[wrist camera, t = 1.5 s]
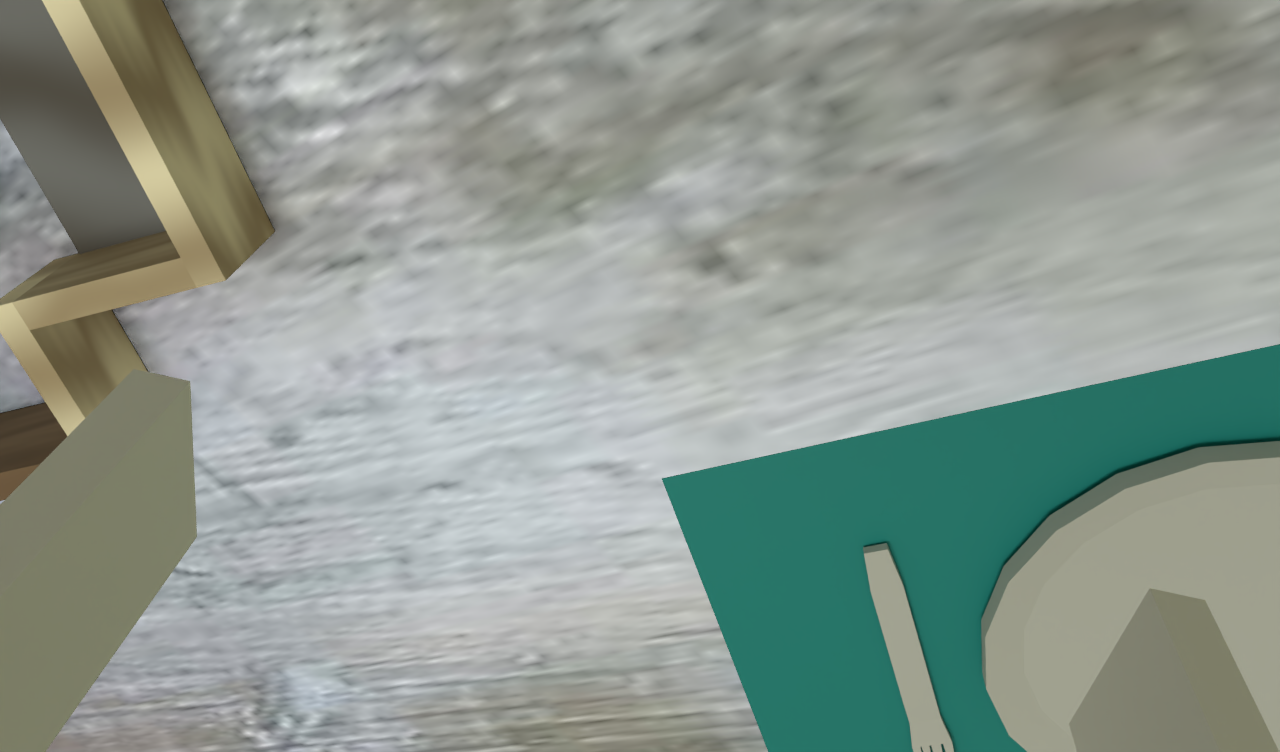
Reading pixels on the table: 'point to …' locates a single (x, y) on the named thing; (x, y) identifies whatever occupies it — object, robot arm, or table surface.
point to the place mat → (993, 558)
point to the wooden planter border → (109, 198)
